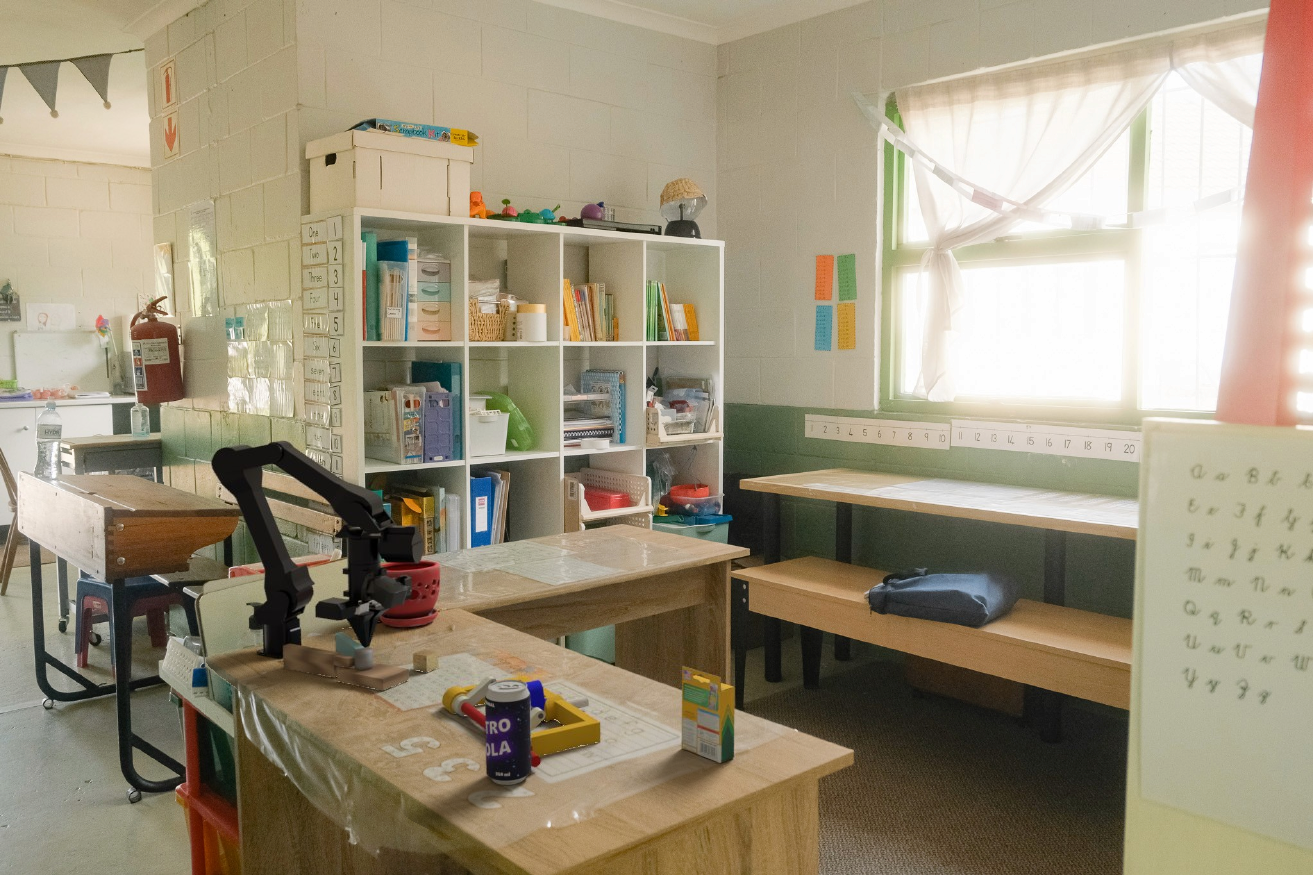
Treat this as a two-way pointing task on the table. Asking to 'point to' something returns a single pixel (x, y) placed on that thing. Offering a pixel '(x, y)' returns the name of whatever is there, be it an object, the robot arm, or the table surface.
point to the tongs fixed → (355, 670)
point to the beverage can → (508, 731)
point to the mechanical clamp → (534, 715)
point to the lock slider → (425, 660)
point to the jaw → (346, 644)
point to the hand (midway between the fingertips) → (365, 646)
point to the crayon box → (707, 715)
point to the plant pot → (415, 594)
